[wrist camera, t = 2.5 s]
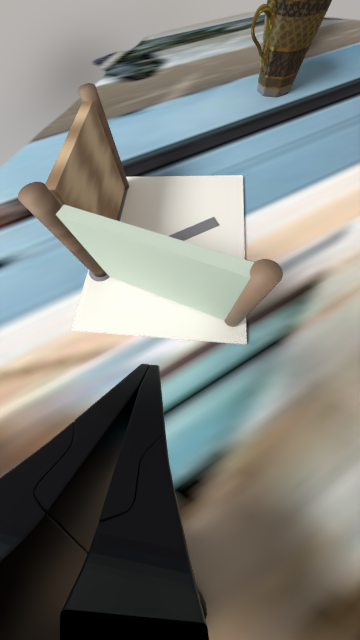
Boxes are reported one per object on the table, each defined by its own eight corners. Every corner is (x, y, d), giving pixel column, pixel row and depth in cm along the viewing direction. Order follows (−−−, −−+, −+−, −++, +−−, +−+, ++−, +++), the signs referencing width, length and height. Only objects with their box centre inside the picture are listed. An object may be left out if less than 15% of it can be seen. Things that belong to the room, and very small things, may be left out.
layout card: (245, 344, 20) (246, 343, 20) (73, 330, 22) (70, 330, 22) (242, 177, 28) (243, 174, 28) (116, 179, 30) (115, 176, 30)
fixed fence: (107, 278, 24) (41, 203, 13) (91, 277, 24) (13, 203, 14) (131, 182, 29) (97, 76, 19) (117, 183, 29) (76, 78, 19)
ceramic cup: (281, 70, 37) (311, -34, 28) (309, 91, 34) (354, -18, 25) (227, 89, 36) (240, -11, 27) (251, 112, 33) (275, 9, 24)
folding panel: (108, 279, 23) (50, 215, 14) (115, 267, 24) (64, 198, 14) (237, 329, 20) (278, 290, 11) (242, 314, 21) (286, 264, 11)
